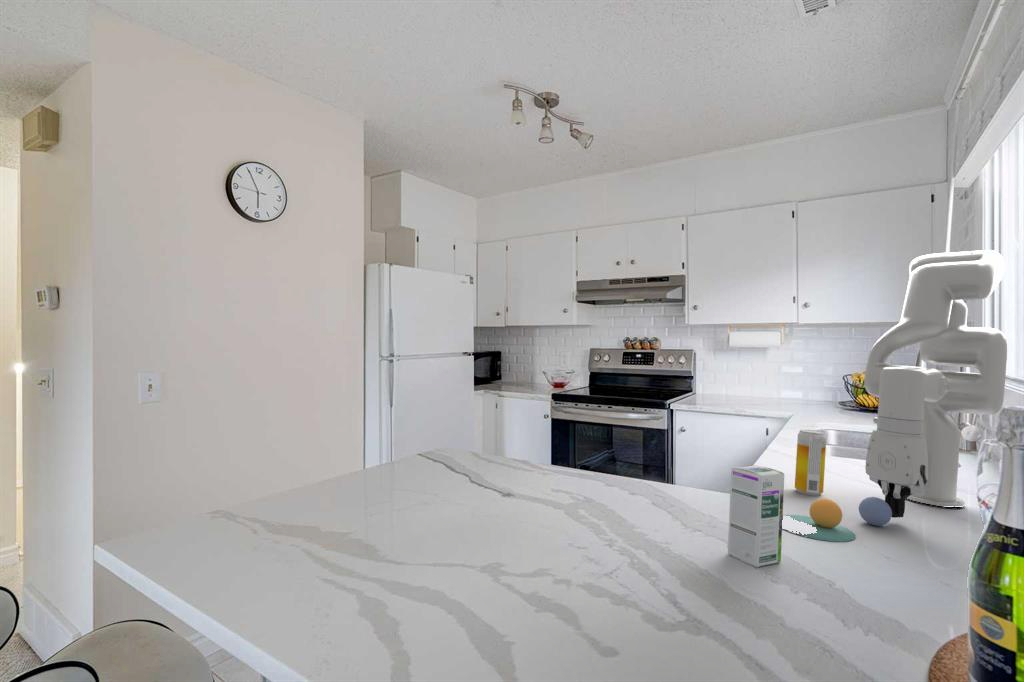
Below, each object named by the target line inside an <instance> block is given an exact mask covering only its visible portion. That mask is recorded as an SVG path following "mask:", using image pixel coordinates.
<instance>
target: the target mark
mask: <svg viewBox="0 0 1024 682" xmlns="http://www.w3.org/2000/svg"><path fill="white" fill-rule="evenodd" d="M785 515H786V516H790V517H791V518H793V520H794V519H795V520H797V521H799V522H801V521H802V522H804V523H807V525H808V524H809V525H812V527H816V529H817V531H816V532H817V533H814V534H813V533H811V534H807V535H806V534H804V535H803V536H807V537H810V538H809V539H812V538H814V539H813V540H817V539H819V540H818V541H823V540H825V541H824V542H831V541H832V542H831V543H833V542H835V543H844V542H845V543H847V542H852V541H854V540H855V539H856V538H857V537H856V534H855V532H854V531H852V530H850V528H847V527H845V526H843V525H841V524H838V525H837V526H835V527H833V528H824V527H821V526H819V525H817V524H816V523H815V522H814V521H813V520H812V518H811V516H806V515H798V514H785ZM792 532H793V531H792ZM796 532H797V531H796ZM796 534H797V533H796ZM796 534H795V535H796ZM799 534H800V535H802V534H801V533H800V532H799ZM800 535H799V536H800ZM803 536H802V537H803ZM807 537H806V538H807Z"/></svg>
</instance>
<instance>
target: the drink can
mask: <svg viewBox="0 0 1024 682" xmlns="http://www.w3.org/2000/svg"><path fill="white" fill-rule="evenodd" d="M796 441H797V443H796V456H795V457H796V458H795V476H794V477H795V478H794V488H795V489H796V491H797V492H798V494H799V493H800V494H803V495H806V496H811V497H812V496H815V497H818V496H821V494H822V493H824V486H825V485H824V483H825V466H826V452H827V436H826V432H824V431H820V430H813V429H799V431H798V433H797V440H796Z"/></svg>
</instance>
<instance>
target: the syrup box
mask: <svg viewBox="0 0 1024 682" xmlns="http://www.w3.org/2000/svg"><path fill="white" fill-rule="evenodd" d="M730 470H731V471H730V491H729V492H730V494H729V513H728V514H729V516H728V520H729V521H728V538H727V539H728V540H727V553H728V555H730V556H732V557H734V558H735V559H737V560H739V561H742V562H744V563H746V564H748V565H750V566H751V567H755V568H760V567H763V566H767V565H773V564H778V563H781V561H782V539H783V529H782V520H783V515H784V492H785V491H784V490H785V473H784V472H782V471H779V470H777V469H773V468H770V467H766V466H760V465H757V464H756V465H755V464H754V465H752V466H751V465H750V466H749V465H748V466H741V467H740V466H739V467H734V466H733V467H732V468H731V469H730Z"/></svg>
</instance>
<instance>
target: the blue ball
mask: <svg viewBox="0 0 1024 682" xmlns="http://www.w3.org/2000/svg"><path fill="white" fill-rule="evenodd" d="M858 512H859V514H860V517H861V518H862V520H863V521H864V522H866V523H867V524H869V525H872V526H881V527H882V526H884V525H886V524H888V523H889V522H890V521H891V519H892V518H893V517H892V511H891V508H890V506H889V505H888V504H887V503H886V502H885V499H884V500H883V499H882V498H880V497H876V496H870V497H866V498H864V499H863V500H861V502H860V503H859V505H858Z"/></svg>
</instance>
